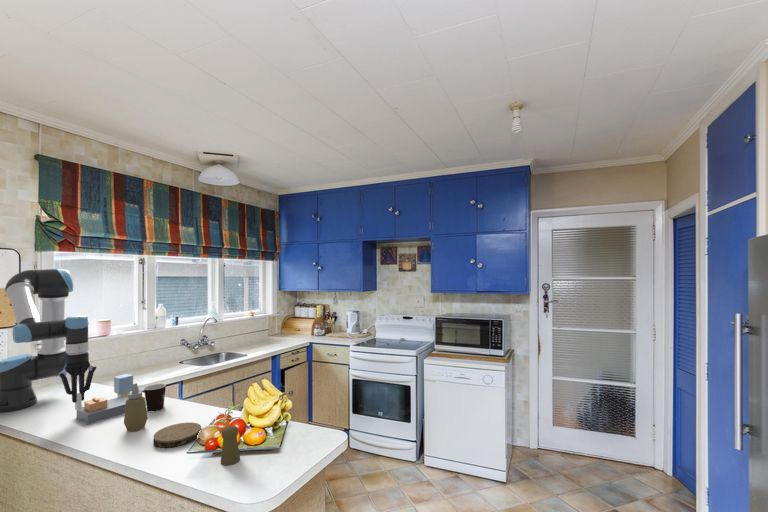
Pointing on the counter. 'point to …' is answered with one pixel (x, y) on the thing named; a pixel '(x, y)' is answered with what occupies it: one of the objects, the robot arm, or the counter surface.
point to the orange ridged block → (95, 404)
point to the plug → (123, 385)
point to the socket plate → (103, 411)
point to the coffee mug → (155, 397)
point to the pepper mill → (230, 446)
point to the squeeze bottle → (135, 411)
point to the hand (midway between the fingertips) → (78, 409)
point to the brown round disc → (176, 435)
